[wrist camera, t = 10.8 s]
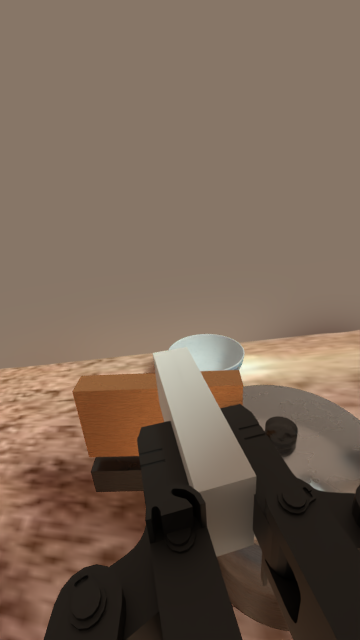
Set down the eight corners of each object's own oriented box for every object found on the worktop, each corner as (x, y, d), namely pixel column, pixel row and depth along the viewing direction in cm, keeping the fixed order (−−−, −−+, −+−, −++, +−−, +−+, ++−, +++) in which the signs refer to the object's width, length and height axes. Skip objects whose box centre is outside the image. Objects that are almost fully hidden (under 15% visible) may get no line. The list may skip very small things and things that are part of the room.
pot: (347, 460, 43) (362, 392, 38) (447, 631, 26) (496, 549, 22) (126, 467, 44) (114, 402, 39) (91, 632, 28) (62, 556, 23)
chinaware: (239, 412, 53) (240, 376, 50) (160, 402, 57) (156, 368, 54) (246, 367, 66) (247, 336, 63) (181, 361, 71) (179, 331, 67)
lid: (333, 389, 38) (344, 325, 35) (452, 556, 21) (500, 463, 17) (115, 397, 40) (103, 336, 36) (58, 559, 23) (25, 473, 19)
